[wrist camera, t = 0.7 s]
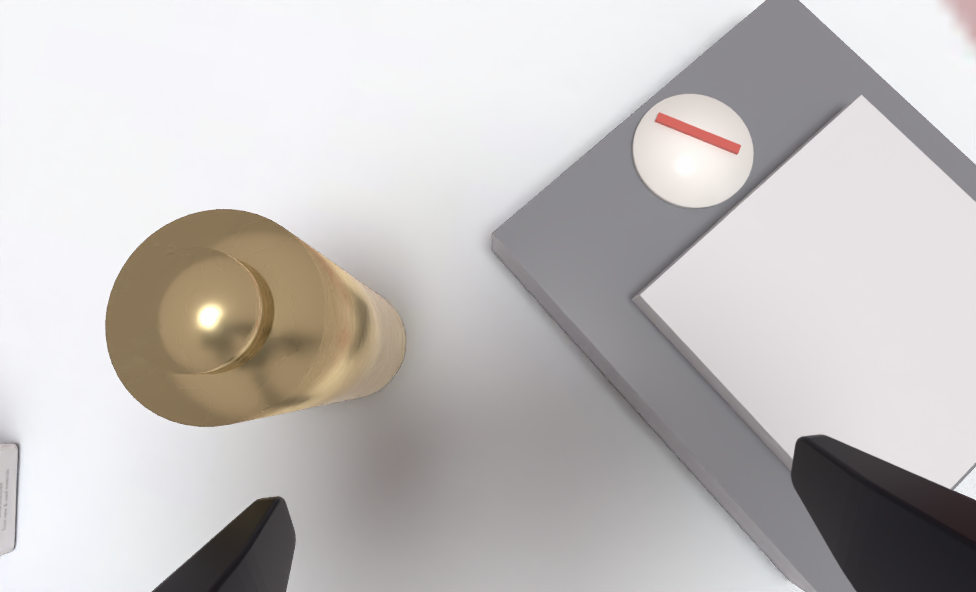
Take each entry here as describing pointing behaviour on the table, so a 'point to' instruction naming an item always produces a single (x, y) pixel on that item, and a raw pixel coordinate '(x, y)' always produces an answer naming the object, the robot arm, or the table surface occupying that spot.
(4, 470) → the ink box
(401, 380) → the table surface
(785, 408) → the scale
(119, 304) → the brass weight
